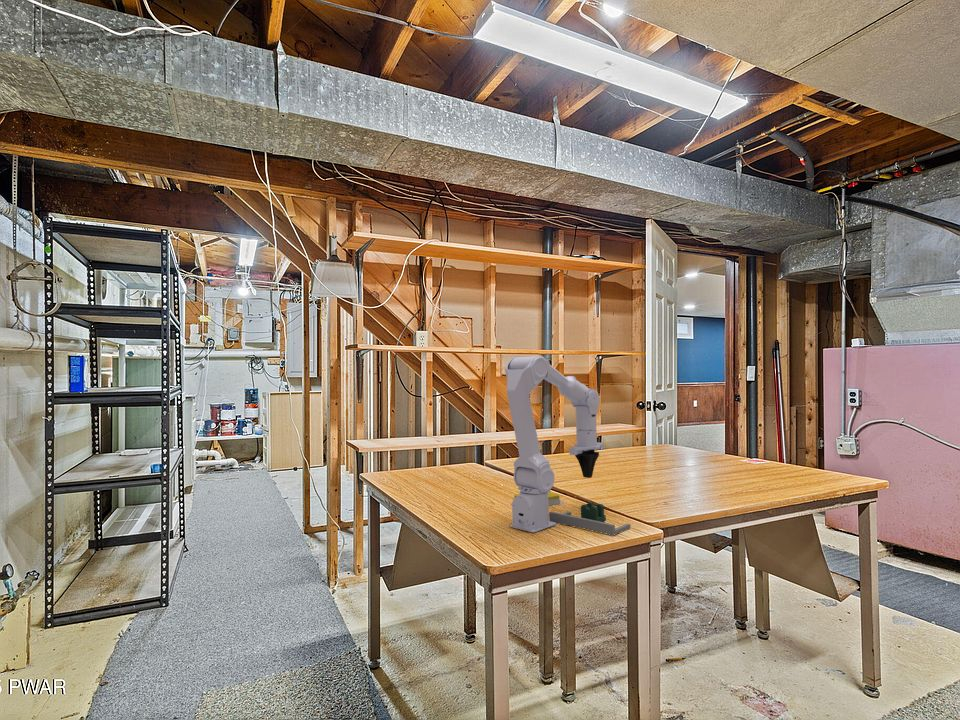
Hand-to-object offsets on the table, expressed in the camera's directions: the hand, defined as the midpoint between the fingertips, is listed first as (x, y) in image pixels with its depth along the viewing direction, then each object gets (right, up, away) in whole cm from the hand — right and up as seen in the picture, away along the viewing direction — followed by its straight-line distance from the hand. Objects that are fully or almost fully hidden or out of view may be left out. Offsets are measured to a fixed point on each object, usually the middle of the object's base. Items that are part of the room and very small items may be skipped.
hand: (587, 477), depth 147 cm
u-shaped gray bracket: (-3, -9, -15) cm, 17 cm away
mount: (-1, -10, -13) cm, 16 cm away
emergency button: (-13, -11, +8) cm, 19 cm away
